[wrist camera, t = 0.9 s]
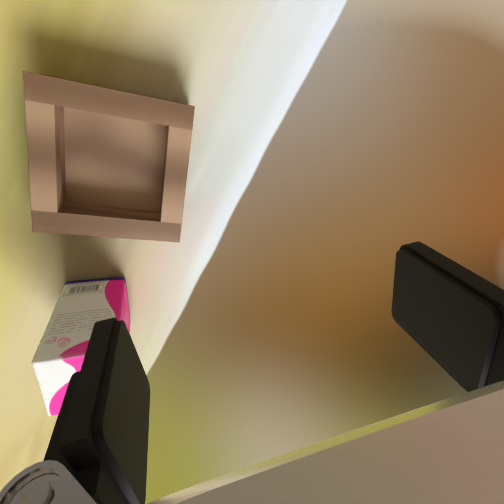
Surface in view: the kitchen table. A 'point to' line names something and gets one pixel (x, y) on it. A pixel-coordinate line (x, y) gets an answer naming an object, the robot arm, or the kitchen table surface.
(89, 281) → the supplement box
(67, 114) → the socket block
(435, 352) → the robot arm
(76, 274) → the kitchen table surface
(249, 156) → the kitchen table surface
